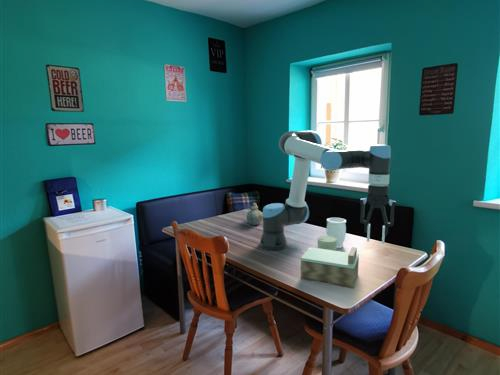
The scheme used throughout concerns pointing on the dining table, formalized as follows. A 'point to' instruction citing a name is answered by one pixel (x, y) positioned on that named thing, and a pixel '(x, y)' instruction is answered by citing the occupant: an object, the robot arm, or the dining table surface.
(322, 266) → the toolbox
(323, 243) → the can
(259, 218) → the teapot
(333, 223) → the jar
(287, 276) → the dining table surface
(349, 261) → the lid
